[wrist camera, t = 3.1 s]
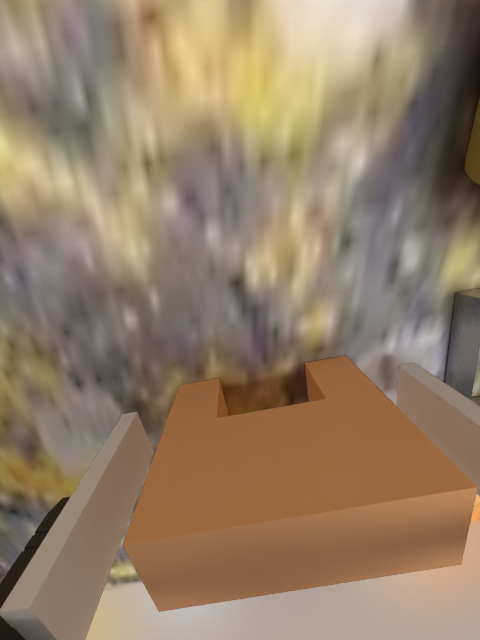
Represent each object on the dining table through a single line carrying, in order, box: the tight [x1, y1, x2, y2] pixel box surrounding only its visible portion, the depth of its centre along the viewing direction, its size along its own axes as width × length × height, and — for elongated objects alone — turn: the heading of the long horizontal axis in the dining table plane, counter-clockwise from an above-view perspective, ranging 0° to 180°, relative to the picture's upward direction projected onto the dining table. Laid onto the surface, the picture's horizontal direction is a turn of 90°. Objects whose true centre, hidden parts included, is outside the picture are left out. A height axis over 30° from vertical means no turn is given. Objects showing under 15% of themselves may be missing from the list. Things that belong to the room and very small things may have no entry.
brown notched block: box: [123, 355, 477, 612], centre depth 10 cm, size 9×3×7 cm, turn 100°
